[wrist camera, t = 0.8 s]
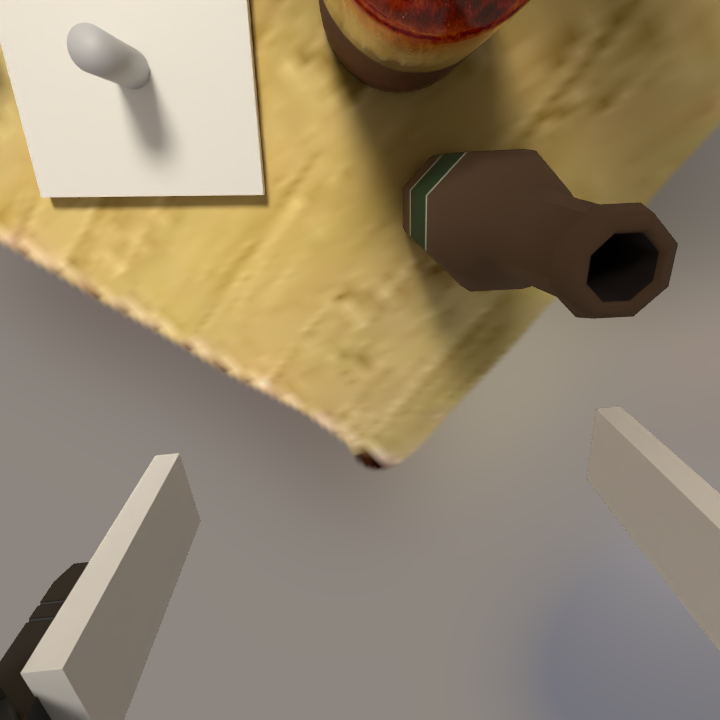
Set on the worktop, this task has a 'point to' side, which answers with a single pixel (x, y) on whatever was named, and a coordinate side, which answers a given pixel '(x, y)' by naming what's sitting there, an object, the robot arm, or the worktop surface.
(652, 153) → the worktop surface
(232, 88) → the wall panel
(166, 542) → the robot arm
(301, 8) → the worktop surface
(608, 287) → the beer bottle
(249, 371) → the worktop surface
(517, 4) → the vase
